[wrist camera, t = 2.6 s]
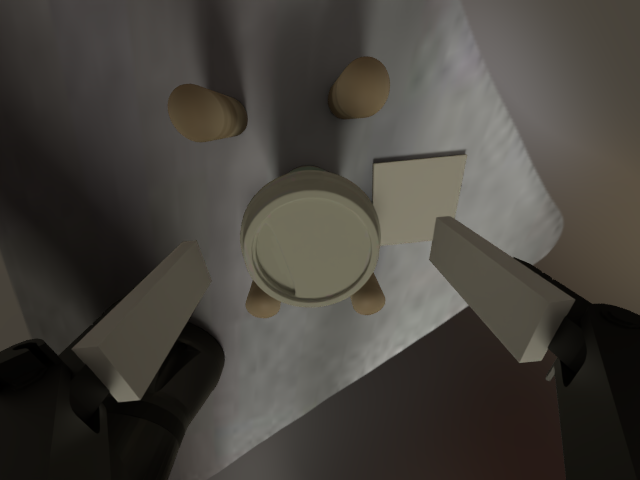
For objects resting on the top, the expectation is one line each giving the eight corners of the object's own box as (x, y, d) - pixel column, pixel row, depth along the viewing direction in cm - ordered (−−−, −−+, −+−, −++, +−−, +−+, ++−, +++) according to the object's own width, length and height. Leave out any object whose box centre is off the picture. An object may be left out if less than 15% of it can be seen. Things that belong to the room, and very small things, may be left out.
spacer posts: (255, 282, 28) (241, 328, 21) (204, 91, 19) (155, 75, 13) (366, 270, 28) (384, 313, 22) (368, 76, 19) (400, 53, 13)
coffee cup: (276, 137, 21) (247, 152, 10) (363, 166, 22) (418, 206, 12) (258, 221, 24) (221, 299, 14) (334, 241, 26) (355, 325, 15)
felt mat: (371, 244, 26) (372, 246, 26) (372, 163, 22) (373, 164, 22) (448, 236, 26) (450, 238, 26) (464, 154, 22) (467, 154, 22)
